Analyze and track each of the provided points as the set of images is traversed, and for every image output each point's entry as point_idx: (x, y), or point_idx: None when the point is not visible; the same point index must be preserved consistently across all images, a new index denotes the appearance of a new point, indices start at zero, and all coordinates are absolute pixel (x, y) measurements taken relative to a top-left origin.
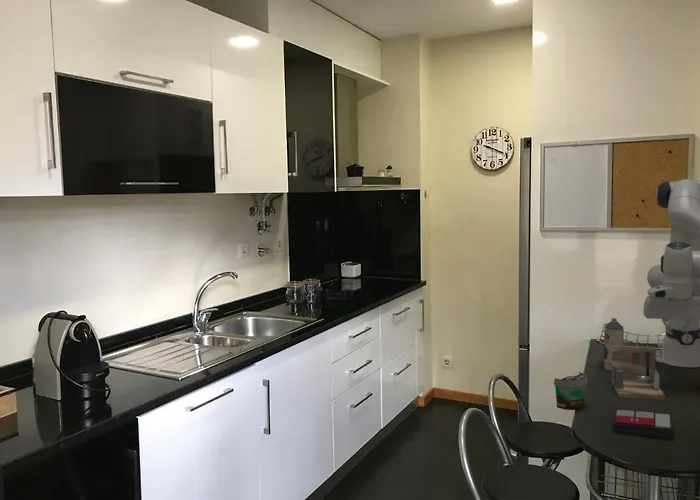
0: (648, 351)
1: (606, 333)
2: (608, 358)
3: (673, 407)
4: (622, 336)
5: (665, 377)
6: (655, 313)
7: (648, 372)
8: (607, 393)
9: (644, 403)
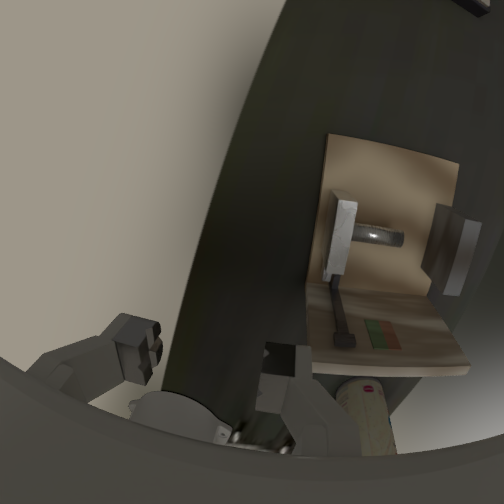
0: (340, 352)
1: None
2: (385, 406)
3: (322, 67)
4: None
5: (247, 341)
6: (494, 495)
7: (333, 294)
8: (468, 199)
9: (399, 104)
